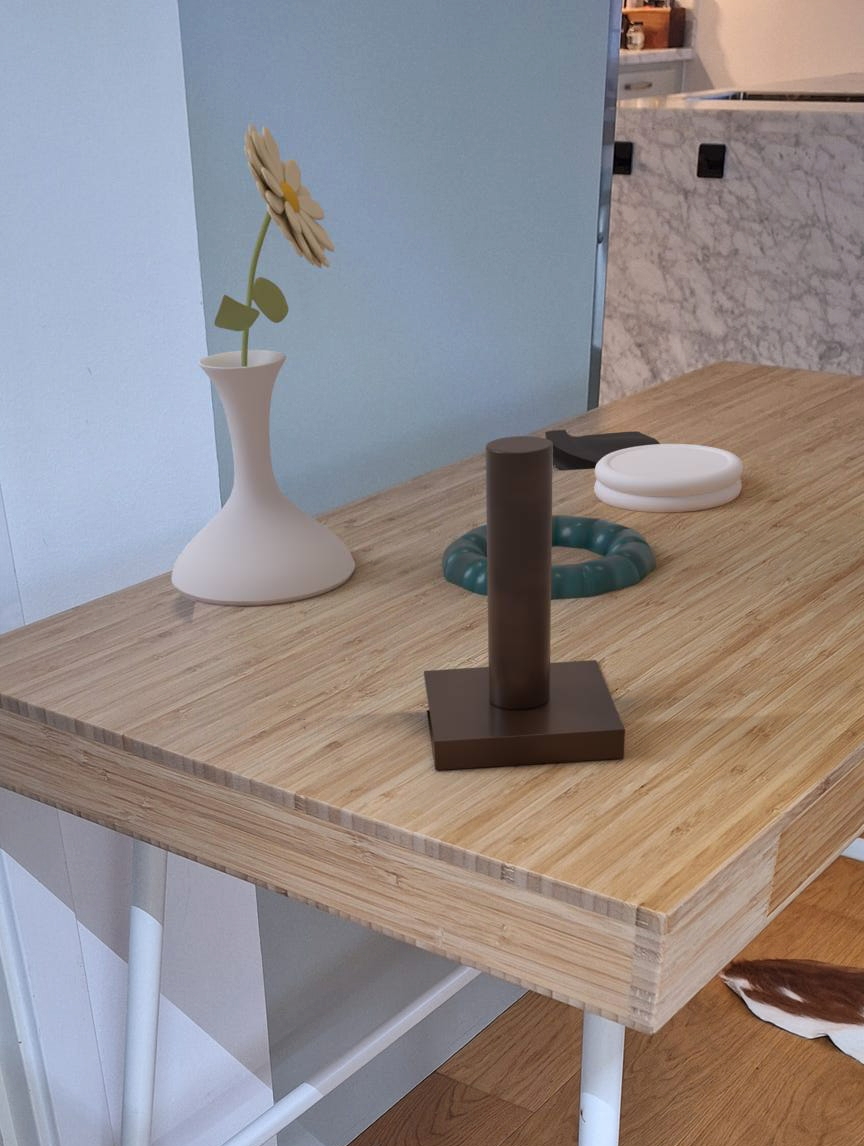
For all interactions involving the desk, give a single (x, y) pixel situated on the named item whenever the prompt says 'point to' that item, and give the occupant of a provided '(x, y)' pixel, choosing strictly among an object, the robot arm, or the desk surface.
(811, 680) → the desk surface
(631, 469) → the white grooved disc
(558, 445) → the curved wedge
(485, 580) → the ring
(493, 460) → the post
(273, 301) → the flower in vase
